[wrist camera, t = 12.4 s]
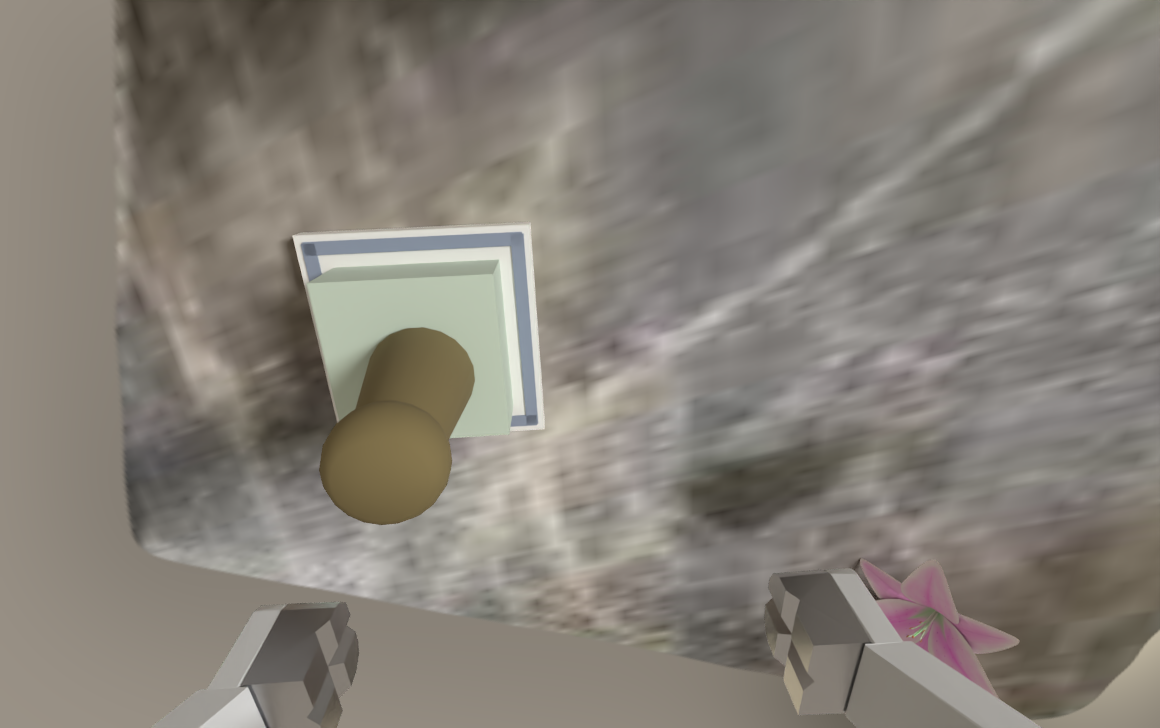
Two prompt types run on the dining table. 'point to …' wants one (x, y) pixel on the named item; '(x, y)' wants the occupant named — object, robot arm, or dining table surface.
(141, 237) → the dining table surface
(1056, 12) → the dining table surface
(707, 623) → the dining table surface
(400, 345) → the cork
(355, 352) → the butter dish
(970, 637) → the lily
